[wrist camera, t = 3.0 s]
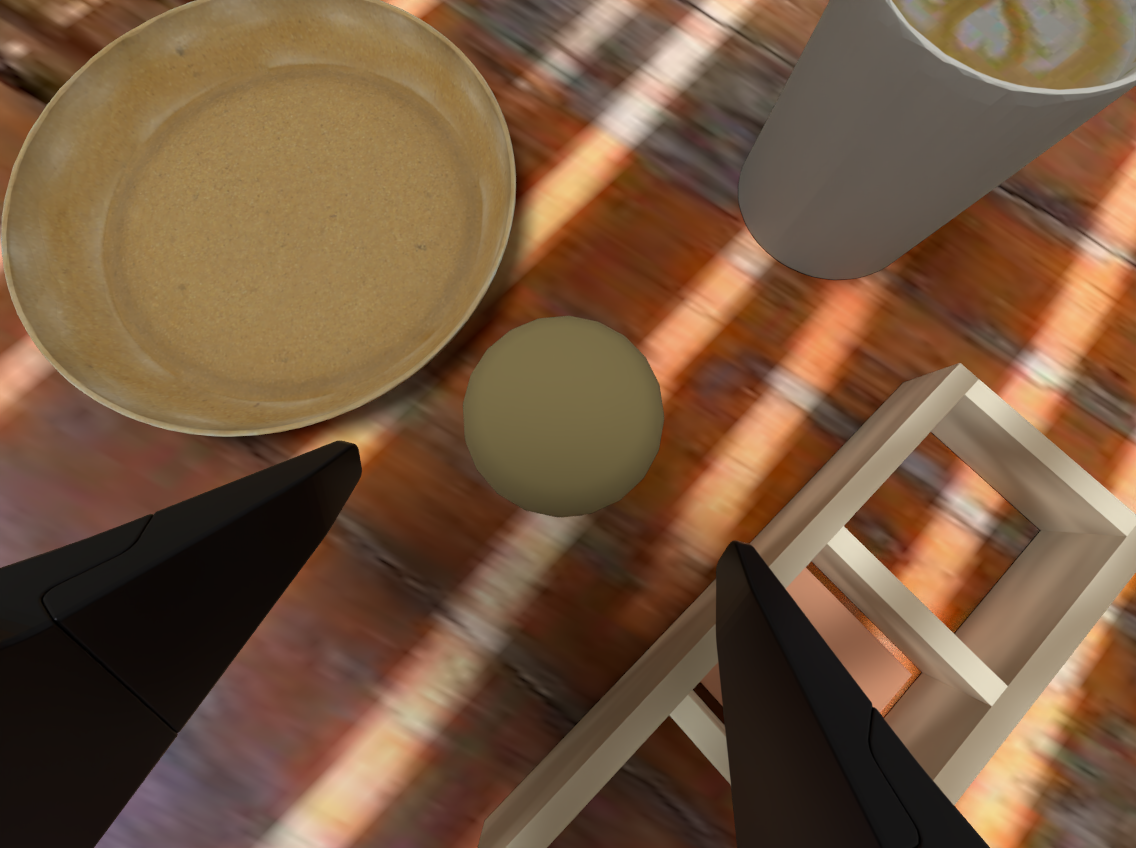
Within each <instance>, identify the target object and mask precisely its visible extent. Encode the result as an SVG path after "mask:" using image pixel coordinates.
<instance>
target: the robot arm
mask: <svg viewBox="0 0 1136 848" xmlns="http://www.w3.org/2000/svg"><path fill="white" fill-rule="evenodd" d="M361 473H362V467H361V461H360V455H359V449H358V447H357V446H356V445H355V444H353V443H349V442H345V441H335V442H333V443H330V444H328V445H325V446H323V447H320V448H317V449H315V450H312V451H310V452H307V453H305V454H302V455H300V456H297V457H295V458H292V459H289V460H287V461H284V462H282V463H279V464H277V465H274V466H272V467H269V468H267V469H264V470H261V471H259V472H256V473H254V474H251V475H249V476H246V477H244V478H241V479H239V480H236V481H233V482H231V483H228V484H226V485H223V486H221V487H218V488H216V489H213V490H211V491H208V492H205V493H203V494H200V495H198V496H195V497H193V498H190V499H188V500H185V501H182V502H180V503H177V504H175V505H172V506H170V507H167V508H165V509H162V510H160V511H157V512H155V514H154V515H153V514H149V515H147V516H144V517H142V518H139V519H136V520H134V521H131V522H129V523H126V524H124V525H121V526H118V527H116V528H113V529H110V530H108V531H105V532H102V533H100V534H97V535H94V536H92V537H89V538H86V539H83V540H81V541H78V542H75V543H72V544H69V545H66V546H63V547H61V548H58V549H55V550H52V551H49V552H46V553H43V554H40V555H37V556H34V557H31V558H29V559H26V560H23V561H20V562H17V563H14V564H11V565H8V566H5V567H2V568H0V848H94V847H95V846H96V844H97V843H98V842H99V840H100V839H101V838H102V836H103V835H104V834H105V832H106V831H107V830H108V828H109V827H110V826H111V824H112V823H113V821H114V820H115V819H116V817H117V816H118V815H119V813H120V812H121V811H122V809H123V808H124V807H125V805H126V804H127V803H128V801H129V800H130V799H131V797H132V796H133V795H134V793H135V792H136V791H137V789H138V788H139V787H140V785H141V784H142V783H143V781H144V780H145V778H146V777H147V776H148V774H149V773H150V772H151V770H152V769H153V768H154V766H155V765H156V764H157V762H158V761H159V760H160V758H161V757H162V756H163V754H164V753H165V752H166V750H167V749H168V748H169V746H170V745H171V744H172V742H173V741H174V740H175V738H176V737H177V735H178V734H177V733H179V732H180V731H181V730H182V728H183V727H184V726H185V724H186V723H187V722H188V720H189V719H190V717H191V716H192V715H193V713H194V712H195V711H196V709H197V708H198V707H199V705H200V704H201V703H202V701H203V700H204V699H205V697H206V696H207V695H208V693H209V692H210V691H211V689H212V688H213V687H214V685H215V684H216V683H217V681H218V680H219V678H220V677H221V676H222V674H223V673H224V672H225V670H226V669H227V668H228V666H229V665H230V664H231V662H232V661H233V660H234V658H235V657H236V656H237V654H238V653H239V652H240V650H241V649H242V648H243V646H244V645H245V644H246V642H247V641H248V640H249V638H250V637H251V635H252V634H253V633H254V631H255V630H256V629H257V627H258V626H259V625H260V623H261V622H262V621H263V619H264V618H265V617H266V615H267V614H268V613H269V611H270V610H271V609H272V607H273V606H274V605H275V603H276V602H277V601H278V599H279V598H280V596H281V595H282V594H283V592H284V591H285V590H286V588H287V587H288V586H289V584H290V583H291V582H292V580H293V579H294V578H295V576H296V575H297V574H298V572H299V571H300V570H301V568H302V567H303V566H304V564H305V563H306V562H307V560H308V559H309V557H310V556H311V555H312V553H313V552H314V551H315V549H316V548H317V547H318V545H319V544H320V543H321V541H322V540H323V539H324V537H325V536H326V534H327V533H328V531H329V530H330V528H331V527H332V525H333V523H334V522H335V520H336V518H337V517H338V515H339V513H340V511H341V510H342V508H343V506H344V505H345V503H346V501H347V500H348V498H349V496H350V495H351V493H352V491H353V489H354V488H355V486H356V484H357V483H358V481H359V479H360V477H361ZM716 644H717V654H718V664H719V674H720V684H721V693H722V703H723V713H724V723H725V732H726V742H727V752H728V761H729V771H730V781H731V791H732V800H733V810H734V820H735V830H736V839H737V848H990V847H989V846H988V845H987V844H986V842H985V841H984V840H983V839H982V838H981V837H980V835H979V834H978V833H977V832H976V831H975V830H974V828H973V827H972V826H971V825H970V824H969V823H968V821H967V820H966V819H965V818H964V817H963V815H962V814H961V813H960V812H959V811H958V810H957V808H956V807H955V806H954V805H953V804H952V803H951V801H950V800H949V799H948V798H947V797H946V795H945V794H944V793H943V792H942V790H941V789H940V788H939V787H938V786H937V784H936V783H935V782H934V781H933V780H932V778H931V777H930V776H929V775H928V774H927V772H926V771H925V770H924V769H923V768H922V766H921V765H920V764H919V763H918V761H917V760H916V759H915V758H914V756H913V755H912V754H911V753H910V751H909V750H908V749H907V747H906V746H905V745H904V744H903V742H902V741H901V740H900V738H899V737H898V736H897V735H896V733H895V732H894V731H893V730H892V728H891V727H890V726H889V724H888V723H887V722H886V720H885V719H884V718H883V716H882V715H881V714H880V712H879V711H878V710H877V709H876V708H875V707H872V702H871V701H870V699H869V698H868V697H867V695H866V694H865V693H864V692H863V690H862V689H861V688H860V686H859V685H858V684H857V682H856V681H855V680H854V678H853V677H852V676H851V674H850V673H849V672H848V670H847V669H846V668H845V667H844V665H843V664H842V663H841V661H840V660H839V659H838V657H837V656H836V655H835V653H834V652H833V651H832V649H831V648H830V647H829V645H828V644H827V643H826V641H825V640H824V639H823V638H822V636H821V635H820V634H819V632H818V631H817V630H816V628H815V627H814V626H813V624H812V623H811V622H810V620H809V619H808V618H807V616H806V615H805V614H804V612H803V611H802V610H801V609H800V607H799V606H798V605H797V603H796V602H795V601H794V599H793V598H792V597H791V595H790V594H789V593H788V591H787V590H786V589H785V587H784V586H783V585H782V584H781V582H780V581H779V580H778V578H777V577H776V576H775V574H774V573H773V572H772V570H771V569H770V568H769V566H768V565H767V564H766V562H765V561H764V560H763V558H762V557H761V556H760V555H759V553H758V552H757V551H756V549H755V548H754V547H753V546H752V545H751V544H748V543H744V542H741V541H737V540H734V541H732V542H731V543H730V544H729V545H728V547H727V548H726V550H725V552H724V553H723V555H722V556H721V558H720V559H719V561H718V564H717V568H716Z"/></svg>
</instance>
